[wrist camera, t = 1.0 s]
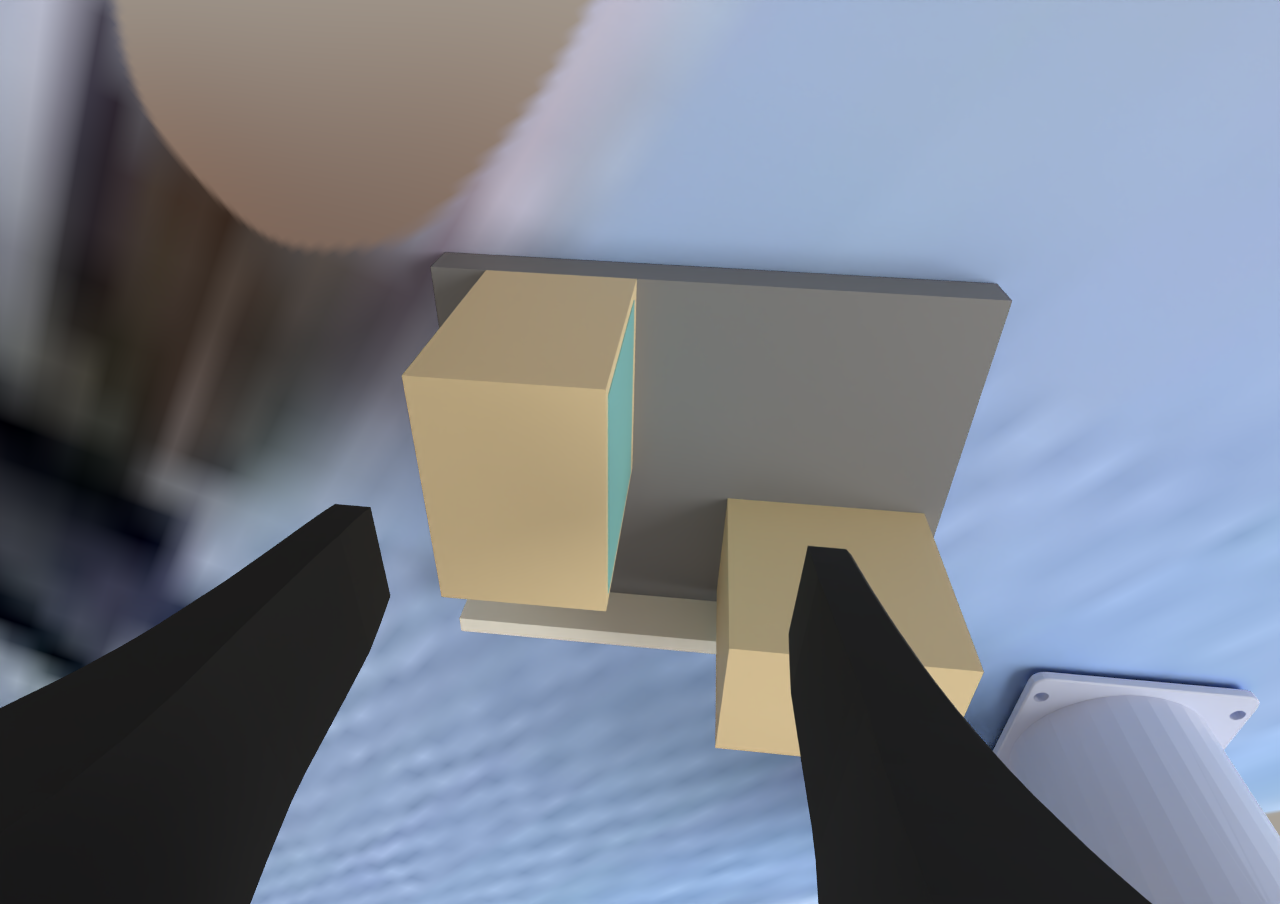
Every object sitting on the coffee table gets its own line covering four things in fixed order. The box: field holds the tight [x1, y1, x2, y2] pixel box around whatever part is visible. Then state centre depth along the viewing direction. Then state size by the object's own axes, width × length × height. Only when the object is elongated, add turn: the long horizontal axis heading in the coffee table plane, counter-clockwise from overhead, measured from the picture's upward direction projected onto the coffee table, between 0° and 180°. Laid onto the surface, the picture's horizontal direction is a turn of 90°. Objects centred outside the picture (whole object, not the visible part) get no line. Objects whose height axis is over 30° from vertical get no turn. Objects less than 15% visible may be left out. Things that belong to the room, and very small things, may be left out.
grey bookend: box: [431, 252, 1012, 654], centre depth 22 cm, size 12×15×3 cm
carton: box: [402, 270, 637, 611], centre depth 18 cm, size 6×4×6 cm, turn 178°
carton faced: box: [715, 498, 984, 756], centre depth 21 cm, size 6×4×6 cm, turn 89°
